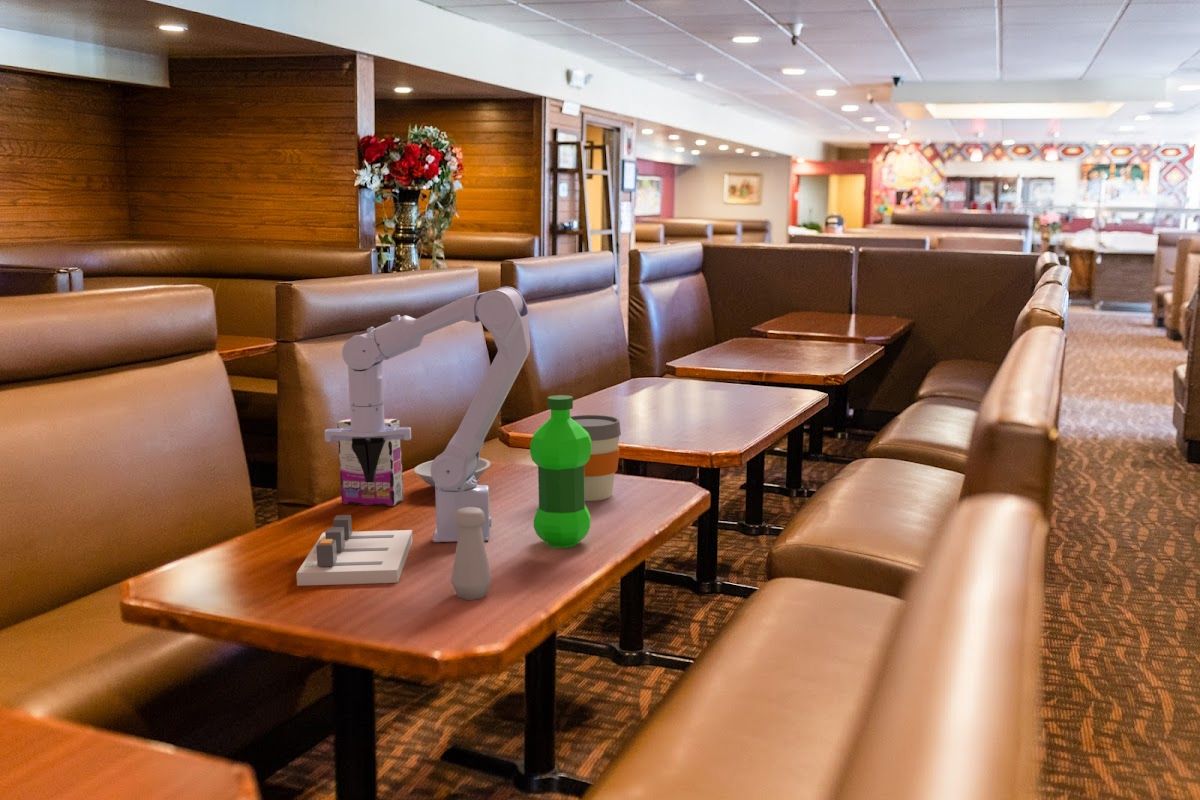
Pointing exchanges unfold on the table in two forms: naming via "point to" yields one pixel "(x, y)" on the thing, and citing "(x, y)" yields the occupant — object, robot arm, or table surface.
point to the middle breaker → (336, 537)
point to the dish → (425, 474)
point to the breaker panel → (360, 560)
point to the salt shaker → (470, 556)
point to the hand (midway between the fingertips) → (370, 481)
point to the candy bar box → (386, 479)
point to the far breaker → (344, 524)
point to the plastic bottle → (561, 476)
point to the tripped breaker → (326, 552)
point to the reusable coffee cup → (600, 455)
